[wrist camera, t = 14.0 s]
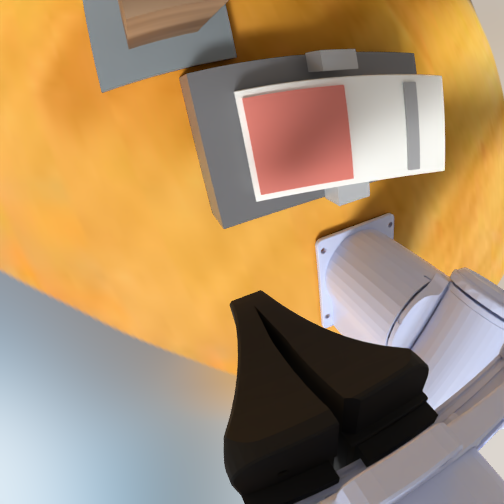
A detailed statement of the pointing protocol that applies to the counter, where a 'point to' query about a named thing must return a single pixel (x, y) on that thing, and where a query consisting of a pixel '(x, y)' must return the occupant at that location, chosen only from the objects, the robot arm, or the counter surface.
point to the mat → (151, 46)
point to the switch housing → (230, 133)
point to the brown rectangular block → (164, 18)
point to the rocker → (341, 131)
